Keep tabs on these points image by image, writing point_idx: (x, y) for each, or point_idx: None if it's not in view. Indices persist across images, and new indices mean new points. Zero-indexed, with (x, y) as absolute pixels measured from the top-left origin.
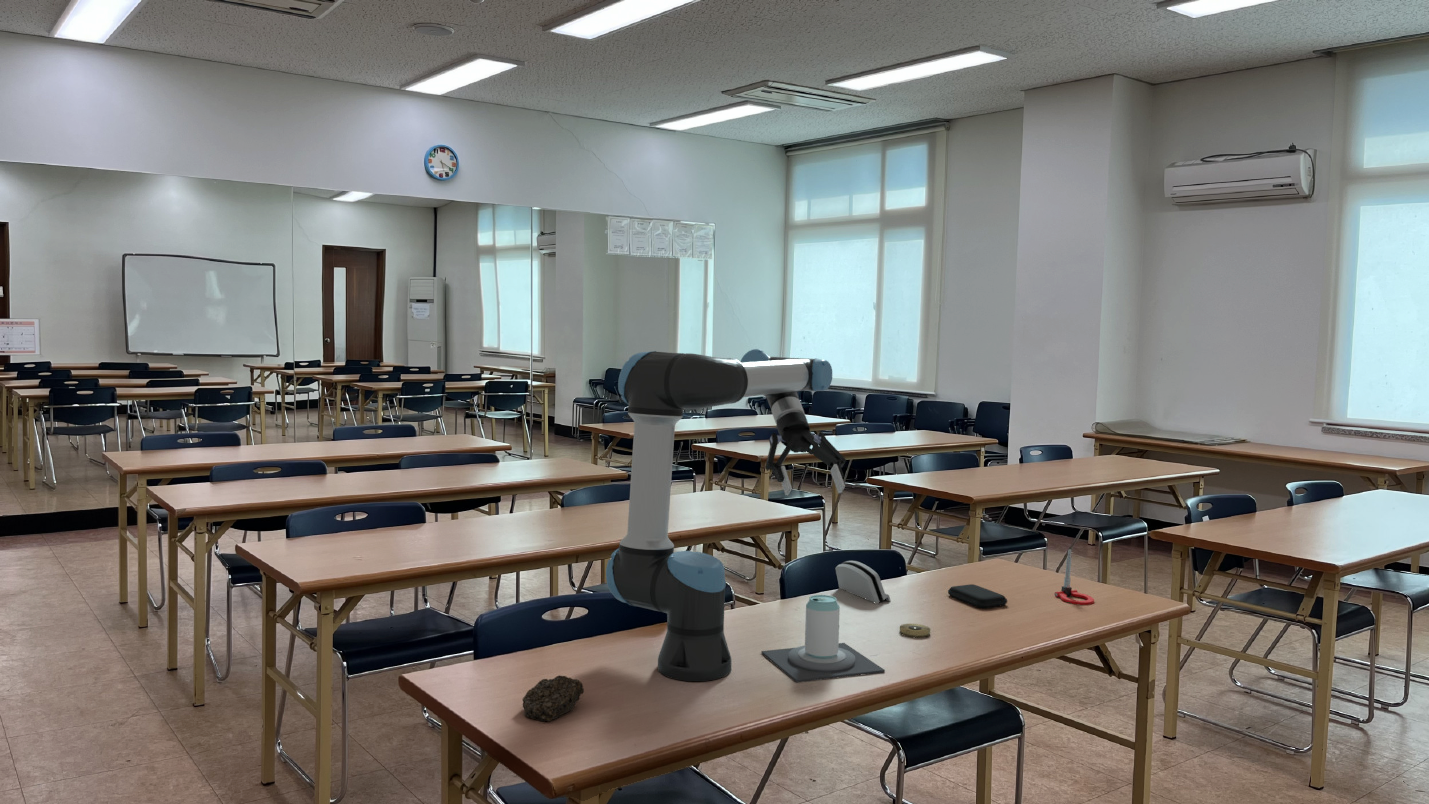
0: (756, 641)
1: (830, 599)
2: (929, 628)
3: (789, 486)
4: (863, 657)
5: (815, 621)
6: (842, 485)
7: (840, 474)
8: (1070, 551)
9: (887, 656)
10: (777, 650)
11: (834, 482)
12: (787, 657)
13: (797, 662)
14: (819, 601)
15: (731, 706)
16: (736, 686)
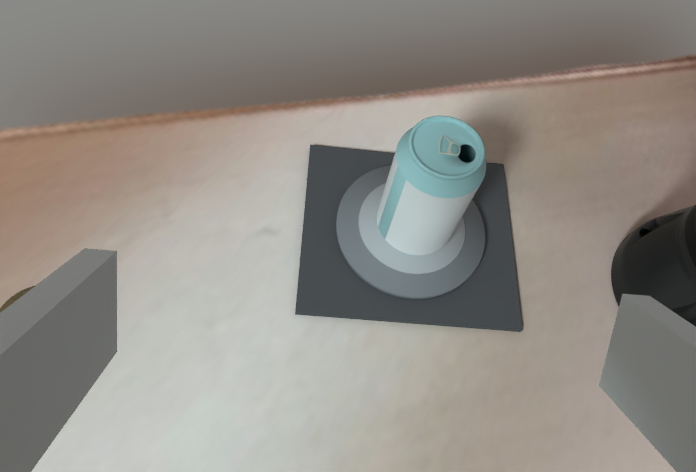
0: (506, 419)
1: (424, 142)
2: (3, 307)
3: (652, 304)
4: (310, 214)
5: (465, 157)
6: (108, 253)
7: (17, 303)
8: None
9: (244, 214)
10: (483, 320)
11: (66, 421)
12: (476, 271)
13: (479, 212)
14: (462, 138)
15: (639, 126)
16: (616, 189)
